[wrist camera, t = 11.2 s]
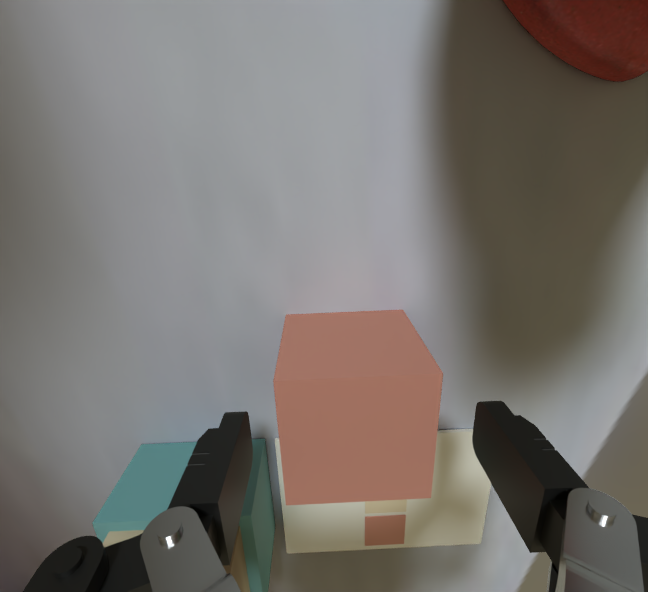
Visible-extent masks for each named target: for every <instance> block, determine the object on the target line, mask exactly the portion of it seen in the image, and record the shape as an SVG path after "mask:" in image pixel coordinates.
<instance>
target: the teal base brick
mask: <svg viewBox="0 0 648 592" xmlns="http://www.w3.org/2000/svg"><path fill="white" fill-rule="evenodd" d="M196 443H197V442H183V443H162V444H142V445H141V446H140V448H139V449H138V451H137V453H136V454H135V456H134V457H133V459H132V461H131V462H130V464H129V465H128V467H127V469H126V470H125V472H124V473H123V475H122V477H121V478H120V480H119V481H118V483H117V485H116V486H115V488H114V489H113V491H112V493H111V494H110V496H109V497H108V499H107V501H106V502H105V504H104V505H103V507H102V509H101V510H100V512H99V513H98V515H97V517H96V518H95V520H94V521H93V523H92V524H93V527H94V529H95V532H96V535H97V537H98V538H99V539H100V540H101V542H102V543H103V542H104V540H105V538H106V536H107V534H108V533H109V532H110V531H132V530H145V528H146V526H147V525H148V524H149V523H150V522H151V521H152V520H153V519H154V518H155V517H156V516H157V515H159V514H160V513H162V512H164V511H166V510H167V508H168V506H169V504H170V502H171V500H172V497H173V495H174V493H175V491H176V488H177V486H178V484H179V482H180V479H181V477H182V475H183V473H184V470H185V468H186V466H187V465H188V461H189V459H190V457H191V455H192V452H193V450H194V448H195V446H196ZM252 445H253V461H252V467H251V472H250V476H249V481H248V486H247V490H246V495H245V499H244V504H243V508H242V513H241V517H240V522H239V526H240V529H241V536H242V542H243V548H244V555H245V561H246V568H247V574H248V580H249V587H250V592H268V588H269V579H270V569H271V560H272V551H273V542H274V533H275V519H274V511H273V502H272V494H271V485H270V477H269V468H268V460H267V452H266V443H265V439H252Z"/></svg>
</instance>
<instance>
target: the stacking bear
mask: <svg viewBox="0 0 648 592" xmlns="http://www.w3.org/2000/svg"><path fill="white" fill-rule="evenodd" d="M503 1H504V2H505V4H506V5H507V7H508V8H509V9H510V11H511V12H512V13H513V15H514V16H515V17H516V18H517V20H518V21H519V22H520V24H521V25H522V26H523V27H524V28H525V29H526V30H527V31H528V32H529V33H530V34H531V35H532V36H533V37H534V38H535V39H536V40H537V41H538V42H539V43H541V44H542V45H543V46H544V47H545V48H547V49H548V50H549V51H551V52H552V53H553V54H555V55H556V56H557V57H559V58H560V59H562V60H563V61H565V62H567V63H568V64H570V65H572V66H573V67H575V68H577V69H579V70H581V71H583V72H586V73H588V74H590V75H593V76H596V77H599V78H602V79H605V80H610V81H626V80H630V79H633V78H635V77H638V76H640V75H642V74H643V73H645V72H647V71H648V0H503Z"/></svg>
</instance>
